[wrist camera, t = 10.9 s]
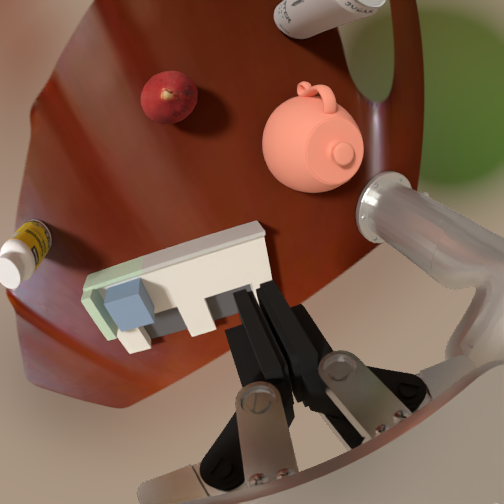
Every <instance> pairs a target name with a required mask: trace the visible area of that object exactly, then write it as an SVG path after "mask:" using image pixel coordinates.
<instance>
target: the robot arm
mask: <svg viewBox="0 0 504 504" xmlns="http://www.w3.org/2000/svg"><path fill="white" fill-rule="evenodd" d="M356 222H357V226H358V229H359V231H360V233H361V234H362V235H363V236H364V237H365V238H366V239H367V240H369V241H371V242H373V243H383V242H387V243H388V244H390V245H391V246H392V247H394V248H395V249H397V250H398V251H399V252H401V253H402V254H403V255H404V256H406V257H407V258H408V259H410V260H411V261H412V262H413V263H415V264H416V265H417V266H419V267H420V268H421V269H422V270H424V271H425V272H426V273H427V274H429V275H430V276H431V277H432V278H433V279H435V280H436V281H437V282H438V283H440V284H441V285H442V286H444V287H446V288H449V289H455V290H456V289H464V288H469V287H476V293H475V295H474V297H473V299H472V302H471V304H470V306H469V307H468V309H467V311H466V313H465V314H464V316H463V318H462V320H461V321H460V323H459V324H458V326H457V327H456V329H455V331H454V333H453V334H452V336H451V338H450V339H449V341H448V343H447V346H446V350H445V360H446V361H444V362H441V363H439V364H436V365H434V366H431V367H429V368H426V369H424V370H421V371H420V373H419V374H416V375H413V374H409V373H403V372H397V371H391V370H385V369H380V368H374V367H369V366H365V364H364V363H363V362H362V361H360V359H359V358H358V357H357V356H355V355H354V354H352V353H350V352H347V351H340V350H339V351H333V350H332V348H331V347H330V345H329V344H328V342H327V341H326V339H325V338H324V336H323V335H322V333H321V332H320V330H319V329H318V327H317V326H316V324H315V323H314V321H313V319H312V318H311V317H310V315H309V314H308V312H307V310H306V309H305V307H304V306H303V305H302V304H299V305H297V306H294V307H291V308H290V307H289V305H288V303H287V302H286V300H285V298H284V297H283V295H282V293H281V292H280V290H279V288H278V287H277V285H276V283H275V282H274V280H270V281H267V282H264V283H261V284H260V288H258V289H256V293H257V297H258V302H259V304H258V302H257V300H256V298H255V296H254V294H253V291H249V292H247V290H246V289H243V290H240V291H237V292H234V293H233V296H234V300H235V303H236V306H237V309H238V312H239V316H240V319H241V322H242V325H239V326H236V327H233V328H230V329H227V330H225V333H226V336H227V339H228V343H229V346H230V349H231V352H232V356H233V359H234V362H235V365H236V368H237V371H238V375H239V378H240V381H241V384H242V387H243V388H242V389H241V390H240V391H239V392H238V394H237V396H236V401H235V406H236V412H235V413H234V415H233V417H232V418H231V420H230V421H229V423H228V424H227V425H226V427H225V428H224V430H223V431H222V433H221V434H220V436H219V437H218V438H217V440H216V441H215V443H214V444H213V446H212V447H211V448H210V450H209V451H208V453H207V454H206V455H205V457H204V458H203V460H202V462H199V463H197V464H195V465H188V466H185V467H183V468H180V469H178V470H175V471H173V472H170V473H167V474H165V475H162V476H159V477H156V478H153V479H150V480H147V481H145V482H143V483H142V484H141V485H140V486H139V488H138V491H137V496H138V500H139V502H140V504H504V238H503V237H501V236H499V235H497V234H495V233H493V232H491V231H490V230H488V229H486V228H484V227H482V226H481V225H479V224H477V223H475V222H474V221H472V220H470V219H468V218H467V217H465V216H463V215H461V214H459V213H458V212H456V211H454V210H452V209H450V208H448V207H447V206H445V205H443V204H441V203H439V202H437V201H435V200H433V199H431V198H429V195H428V193H422V194H421V193H419V192H417V191H415V190H413V189H412V188H411V185H410V183H409V181H408V180H407V179H406V178H405V177H404V176H403V175H401V174H399V173H397V172H394V171H386V172H382V173H380V174H378V175H376V176H375V177H374V178H372V179H371V180H370V182H369V183H368V184H367V185H366V186H365V188H364V189H363V191H362V193H361V195H360V198H359V201H358V204H357V209H356ZM292 392H293V394H294V396H295V398H296V400H297V402H301V401H303V403H304V405H305V407H307V406H309V408H310V410H312V411H315V412H318V413H319V414H320V415H321V417H322V418H323V420H324V421H325V422H326V423H327V425H328V426H329V427H330V429H331V430H332V431H333V433H334V434H335V435H336V436H337V438H338V439H339V440H340V441H341V442H342V444H343V445H344V446H345V448H346V449H347V450H348V452H346V453H344V454H341V455H339V456H337V457H335V458H333V459H331V460H328V461H326V462H324V463H321V464H319V465H317V466H314V467H311V468H309V469H306V470H304V471H301V472H299V471H298V466H297V462H296V458H295V454H294V449H293V445H292V441H291V437H290V432H289V427H290V425H291V423H292V421H293V419H294V417H295V416H294V410H293V404H294V401H293V395H292Z"/></svg>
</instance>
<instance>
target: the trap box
mask: <svg viewBox="0 0 504 504" xmlns="http://www.w3.org/2000/svg"><path fill="white" fill-rule="evenodd" d="M264 235H266V234H265V230H264V229H263V228H262V226H261V225H260V224H259V222H258V221H257V220H256V221H253V222H250V223H246V224H243V225H240V226H236V227H233V228H230V229H226V230H223V231H220V232H217V233H213V234H210V235H207V236H204V237H200V238H197V239H194V240H191V241H188V242H185V243H182V244H178V245H175V246H172V247H169V248H166V249H163V250H160V251H157V252H154V253H151V254H148V255H145V256H142V257H139V258H136V259H133V260H130V261H127V262H124V263H121V264H118V265H115V266H112V267H109V268H106V269H103V270H101V271H98V272H95V273H92V274H89V275H88V276H87V279H86V282H85V284H84V287H83V291H84V292H83V295H82V298H81V302H82V303H83V305H84V307H85V308H86V310H87V311H88V313H89V314H90V316H91V317H92V319H93V320H94V322H95V323H96V325H97V326H98V328H99V329H100V330H101V332H102V333H103V335H104V336H105V337H106V339H107V340H112V339H116V338H117V337H118V338H119V340H120V341H121V343H122V344H123V345H124V347H125V348H126V350H127V351H128V352H129V354H131V353H135V352H139V351H143V350H146V349H150V348H151V339H153V338H157V337H160V336H164V335H167V334H171V333H174V332H178V331H181V330H184V329H188V330H189V332H190V334H191V336H192V337H193V336H196V335H200V334H203V333H206V332H210V331H213V330H216V326H215V322H214V320H217V319H220V318H224V317H227V316H230V315H233V314H236V313H239V312H238V309H237V306H236V303H235V300H234V296H233V293H234V292H237V291H240V290H243V289H246V290H247V292H249V291H253V294H254V296H255V298H256V300H257V302H258V297H257V293H256V289H258V288H260V284H261V283H264V282H267V281H270V280H272V275H271V270H270V265H269V259H268V254H267V249H266V243H265V238H264ZM137 278H141V280H142V282H143V284H144V286H145V288H146V290H147V292H148V294H149V296H150V298H151V300H152V302H153V304H154V323H152V324H148V325H145V326H141V327H138V328H134V329H131V330H127V331H123V332H121V331H120V329H119V328H118V326H117V325H116V323H115V322H114V320H113V319H112V317H111V315H110V314H109V312H108V311H107V309H106V307H105V306H104V300H105V296H106V292H107V288H109V287H112V286H115V285H118V284H121V283H124V282H128V281H131V280H134V279H137ZM258 304H259V302H258Z"/></svg>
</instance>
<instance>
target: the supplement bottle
mask: <svg viewBox="0 0 504 504" xmlns="http://www.w3.org/2000/svg"><path fill="white" fill-rule="evenodd" d="M51 241H52V239H51V234H50V231H49V229H48V228H47V226H46V225H45V224H44V223H42V222H41V221H39V220H35V219H33V220H29V221H27V222H26V223H24V224H23V225H22V226H21V227H20V228H19V229H18V230H17V231H16V232H15V233H14V234H13V235H12V236H11V237H10V238H9V239H8V240H7V241H6V243H5V244H4V245H3V246H2V249H1V252H0V282H1V284H2V285H4V286H5V287H7V288H9V289H15V288H17V287H18V286H19V285H20V283H21V282H22V281H25V280H27V279H29V278H30V277H31V276H32V275H33V273H34V272H35V270H36V269H37V267H38V266H39V264H40V263H41V261H42V260H43V258H44V257H45V255H46V254H47V252H48V251H49V249H50V247H51Z"/></svg>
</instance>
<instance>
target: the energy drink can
mask: <svg viewBox="0 0 504 504" xmlns="http://www.w3.org/2000/svg"><path fill="white" fill-rule="evenodd" d="M385 1H386V0H284V1H282V2H281V3H280V4H279V5H278V6H277V7H276V9H275V11H274V20H275V23H276V25H277V26H278V28H279V29H280V30H281V31H282V32H283V33H285V34H286V35H288V36H290V37H292V38H296V39H306V38H309V37H312V36H314V35H316V34H319V33H322V32H324V31H327V30H329V29H332V28H335V27H337V26H340V25H343V24H346V23H349V22H352V21H355V20H358V19H362V18H365V17H368V16H371V15H373V14H375V13H376V12H377V10H378V9H379V7H380V6H382V5H383V4H384V3H385Z"/></svg>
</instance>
